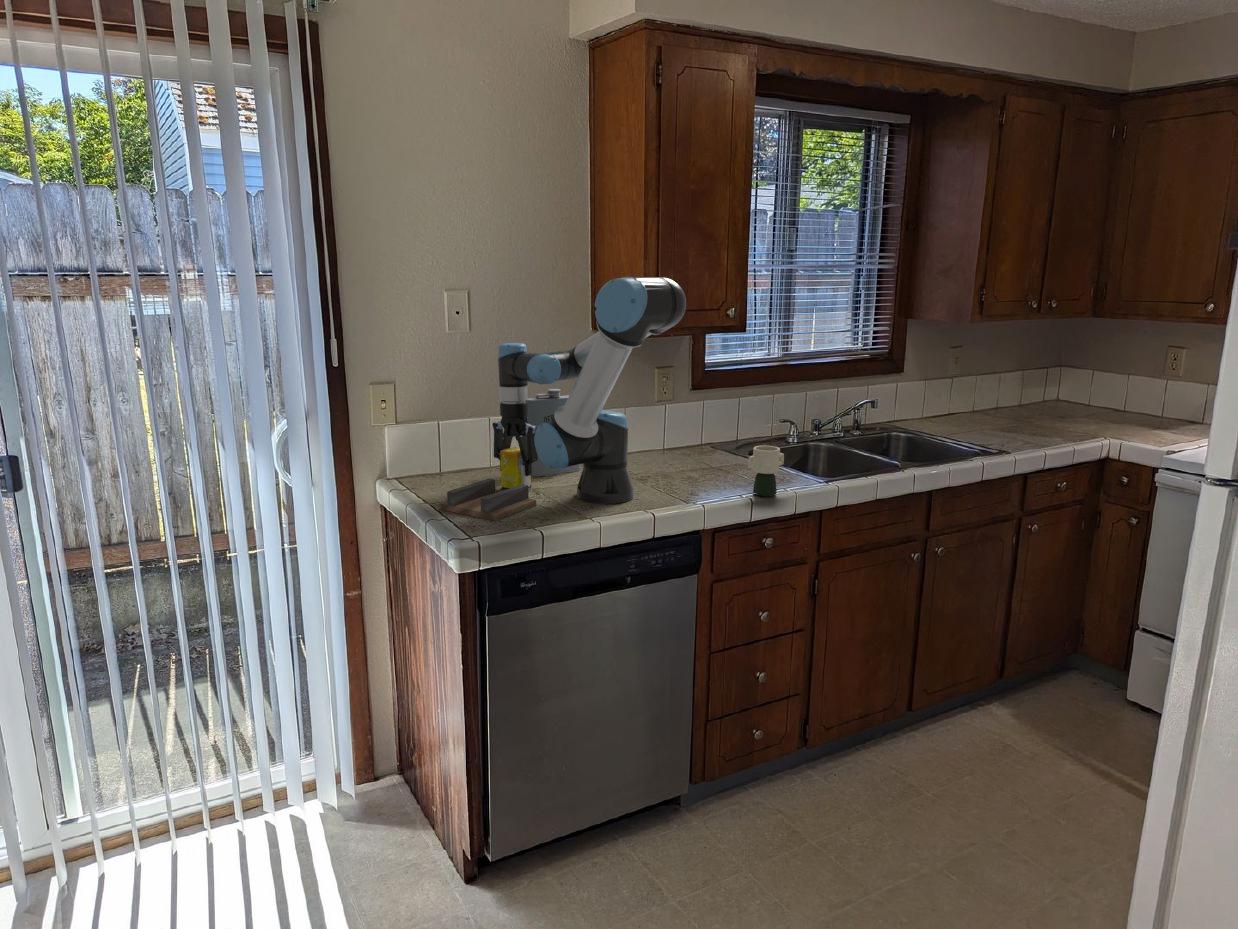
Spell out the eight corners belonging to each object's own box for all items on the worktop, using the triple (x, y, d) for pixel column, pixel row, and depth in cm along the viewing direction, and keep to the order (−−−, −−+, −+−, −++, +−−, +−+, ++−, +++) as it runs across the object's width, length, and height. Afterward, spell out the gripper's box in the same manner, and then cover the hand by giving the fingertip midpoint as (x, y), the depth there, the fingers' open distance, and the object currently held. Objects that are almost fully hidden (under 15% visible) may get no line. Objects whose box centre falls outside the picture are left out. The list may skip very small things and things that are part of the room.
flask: (531, 477, 249) (529, 392, 243) (524, 474, 253) (523, 389, 247) (584, 470, 257) (584, 387, 252) (576, 467, 261) (576, 385, 255)
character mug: (774, 490, 237) (777, 444, 234) (789, 496, 231) (791, 449, 228) (740, 494, 233) (742, 447, 230) (753, 500, 227) (756, 452, 224)
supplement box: (514, 485, 239) (513, 446, 237) (531, 487, 236) (530, 448, 234) (500, 489, 234) (499, 450, 232) (518, 492, 231) (517, 452, 229)
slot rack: (536, 505, 221) (535, 486, 220) (495, 520, 207) (495, 500, 206) (482, 495, 230) (482, 477, 229) (440, 509, 217) (439, 490, 216)
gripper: (550, 402, 228) (552, 487, 233) (495, 397, 238) (498, 478, 243) (533, 406, 222) (535, 493, 227) (477, 400, 231) (480, 483, 237)
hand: (516, 485), depth 235 cm, fingers closed on supplement box, 6 cm apart
